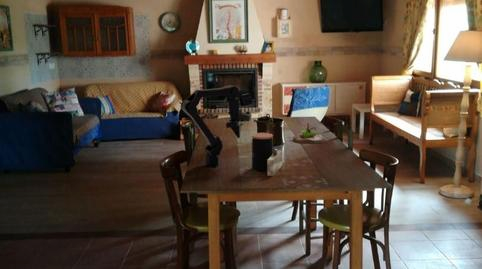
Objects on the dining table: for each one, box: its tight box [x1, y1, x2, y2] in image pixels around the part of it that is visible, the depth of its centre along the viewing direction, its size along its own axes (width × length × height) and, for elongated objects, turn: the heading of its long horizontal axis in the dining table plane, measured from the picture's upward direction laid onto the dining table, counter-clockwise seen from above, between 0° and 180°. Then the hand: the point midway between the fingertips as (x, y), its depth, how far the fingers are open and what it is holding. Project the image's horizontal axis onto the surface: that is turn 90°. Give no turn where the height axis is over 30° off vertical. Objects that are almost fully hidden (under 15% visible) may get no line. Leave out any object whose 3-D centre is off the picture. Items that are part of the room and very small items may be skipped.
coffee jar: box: [251, 132, 274, 173], centre depth 239 cm, size 11×11×18 cm
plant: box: [292, 122, 325, 144], centre depth 303 cm, size 20×20×11 cm
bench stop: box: [266, 148, 284, 177], centre depth 238 cm, size 3×20×11 cm, turn 162°
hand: (238, 137), depth 250 cm, fingers closed
